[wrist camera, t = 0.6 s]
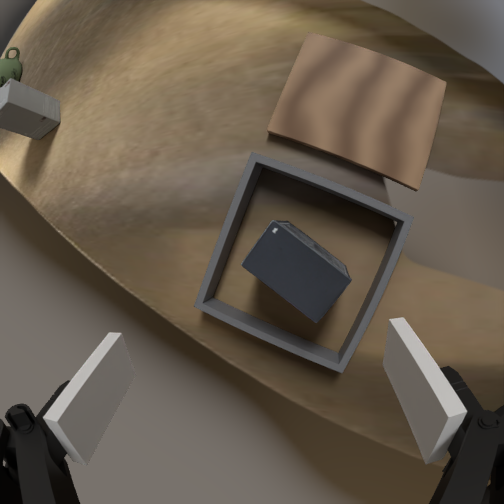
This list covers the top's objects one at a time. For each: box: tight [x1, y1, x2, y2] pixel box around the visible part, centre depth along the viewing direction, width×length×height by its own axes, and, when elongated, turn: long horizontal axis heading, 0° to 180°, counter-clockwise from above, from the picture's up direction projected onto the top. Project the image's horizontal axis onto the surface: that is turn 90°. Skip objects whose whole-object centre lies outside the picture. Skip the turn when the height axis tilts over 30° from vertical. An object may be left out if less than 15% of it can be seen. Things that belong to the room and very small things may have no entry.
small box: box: [241, 220, 352, 323], centre depth 37 cm, size 11×6×10 cm, turn 54°
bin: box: [194, 152, 414, 373], centre depth 40 cm, size 22×22×4 cm
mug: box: [0, 47, 22, 88], centre depth 52 cm, size 16×13×9 cm
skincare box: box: [0, 78, 60, 140], centre depth 45 cm, size 8×7×16 cm
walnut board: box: [267, 32, 446, 191], centre depth 37 cm, size 22×18×2 cm
